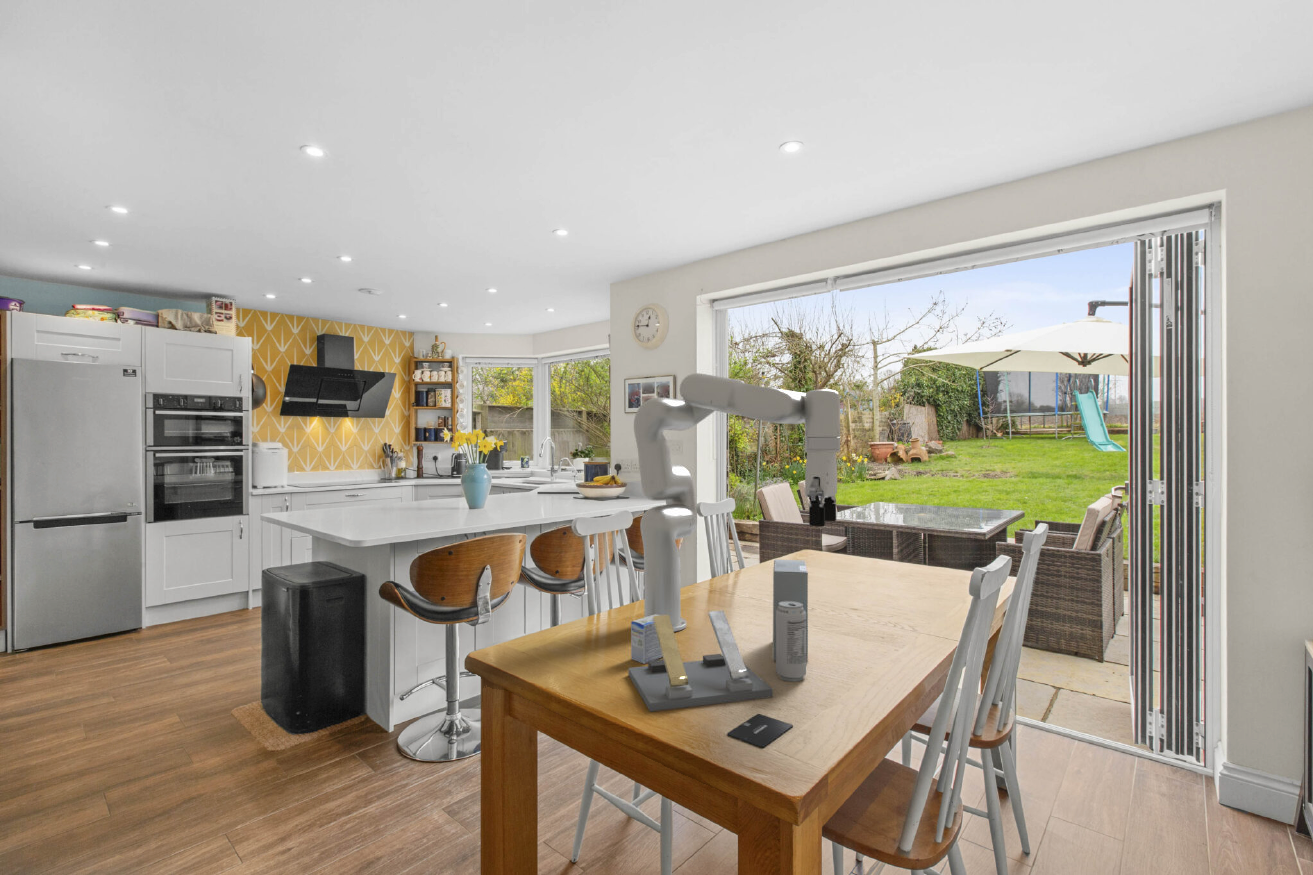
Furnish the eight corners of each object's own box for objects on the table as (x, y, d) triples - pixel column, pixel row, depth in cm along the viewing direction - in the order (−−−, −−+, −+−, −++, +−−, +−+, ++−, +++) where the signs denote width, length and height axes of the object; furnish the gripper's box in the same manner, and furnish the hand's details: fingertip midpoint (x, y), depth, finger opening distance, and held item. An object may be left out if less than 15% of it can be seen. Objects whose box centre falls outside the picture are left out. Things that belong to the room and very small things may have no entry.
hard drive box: (808, 664, 133) (807, 572, 133) (772, 662, 134) (772, 571, 135) (805, 641, 148) (805, 559, 148) (773, 640, 150) (773, 558, 150)
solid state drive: (726, 737, 101) (726, 733, 101) (758, 717, 109) (758, 713, 109) (762, 751, 96) (762, 747, 96) (793, 728, 104) (793, 724, 104)
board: (628, 675, 127) (628, 661, 127) (736, 663, 134) (736, 650, 134) (650, 711, 110) (650, 695, 110) (772, 696, 116) (772, 681, 116)
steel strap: (747, 680, 117) (749, 675, 116) (731, 682, 116) (733, 676, 115) (722, 614, 129) (723, 609, 129) (708, 615, 129) (709, 610, 128)
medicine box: (655, 651, 142) (655, 613, 142) (669, 655, 139) (669, 617, 139) (630, 659, 137) (630, 620, 137) (644, 664, 133) (644, 624, 134)
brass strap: (687, 687, 114) (688, 681, 113) (670, 688, 113) (672, 683, 112) (667, 618, 126) (668, 613, 125) (652, 620, 125) (653, 614, 125)
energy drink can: (795, 669, 130) (795, 598, 130) (812, 680, 124) (811, 605, 124) (770, 673, 128) (770, 601, 128) (786, 684, 122) (785, 608, 122)
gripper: (816, 445, 145) (816, 518, 145) (793, 446, 130) (794, 527, 130) (848, 445, 141) (849, 519, 141) (829, 445, 126) (830, 529, 126)
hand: (823, 523), depth 135 cm, fingers open, 9 cm apart
